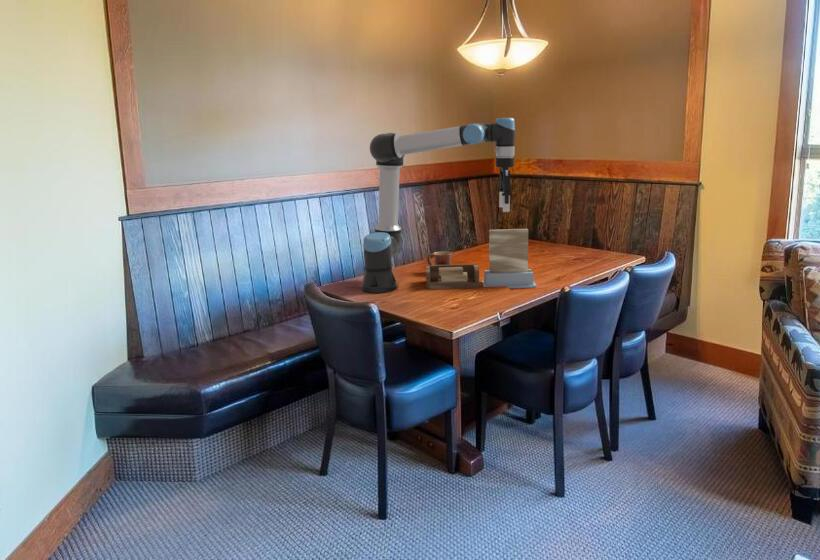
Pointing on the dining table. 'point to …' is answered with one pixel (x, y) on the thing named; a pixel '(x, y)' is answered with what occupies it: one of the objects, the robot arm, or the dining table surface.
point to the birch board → (508, 251)
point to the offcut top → (450, 271)
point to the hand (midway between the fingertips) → (504, 209)
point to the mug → (440, 258)
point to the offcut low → (451, 281)
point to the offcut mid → (455, 277)
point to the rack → (433, 277)
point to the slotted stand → (509, 279)
